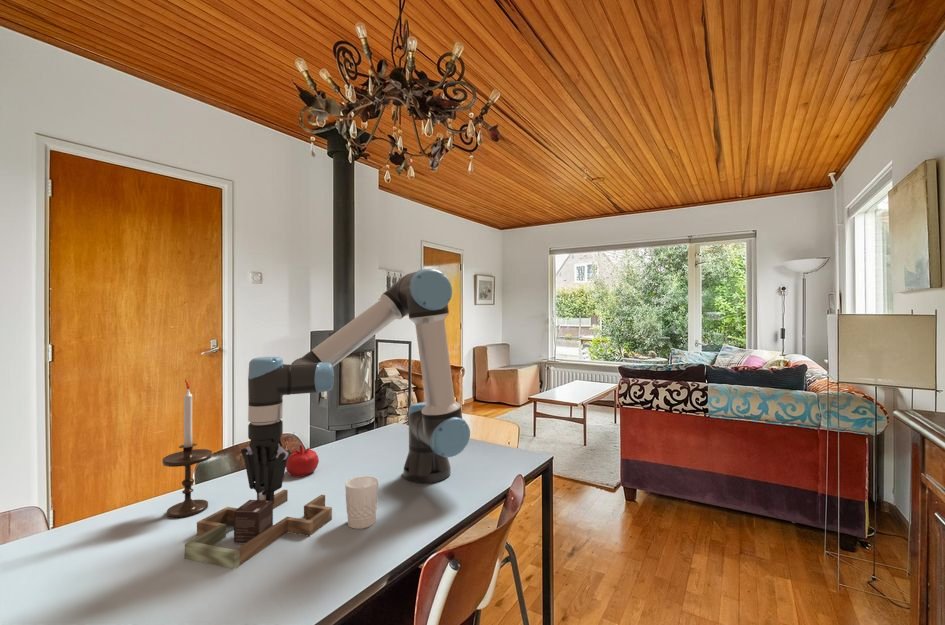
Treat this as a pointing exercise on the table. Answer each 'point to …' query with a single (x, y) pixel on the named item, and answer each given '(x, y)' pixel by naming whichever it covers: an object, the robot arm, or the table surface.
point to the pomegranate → (302, 462)
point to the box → (252, 519)
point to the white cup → (361, 501)
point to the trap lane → (223, 523)
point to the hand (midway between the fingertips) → (265, 518)
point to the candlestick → (187, 465)
